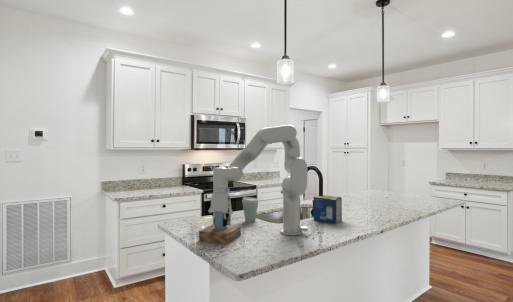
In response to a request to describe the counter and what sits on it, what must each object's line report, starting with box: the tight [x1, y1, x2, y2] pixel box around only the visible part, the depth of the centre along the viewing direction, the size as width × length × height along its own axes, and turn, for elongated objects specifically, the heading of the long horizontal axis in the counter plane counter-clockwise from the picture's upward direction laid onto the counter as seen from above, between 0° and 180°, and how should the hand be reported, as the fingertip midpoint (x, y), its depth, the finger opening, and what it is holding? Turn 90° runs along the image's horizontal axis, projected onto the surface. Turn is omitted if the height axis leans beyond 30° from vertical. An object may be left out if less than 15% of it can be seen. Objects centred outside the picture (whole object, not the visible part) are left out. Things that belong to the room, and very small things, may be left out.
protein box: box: [313, 194, 343, 225], centre depth 191 cm, size 10×15×16 cm
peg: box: [215, 211, 226, 231], centre depth 153 cm, size 4×4×12 cm
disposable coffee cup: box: [241, 196, 259, 223], centre depth 188 cm, size 11×11×15 cm
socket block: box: [198, 223, 242, 246], centre depth 153 cm, size 16×16×5 cm
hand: (220, 225), depth 153 cm, fingers closed on peg, 4 cm apart
